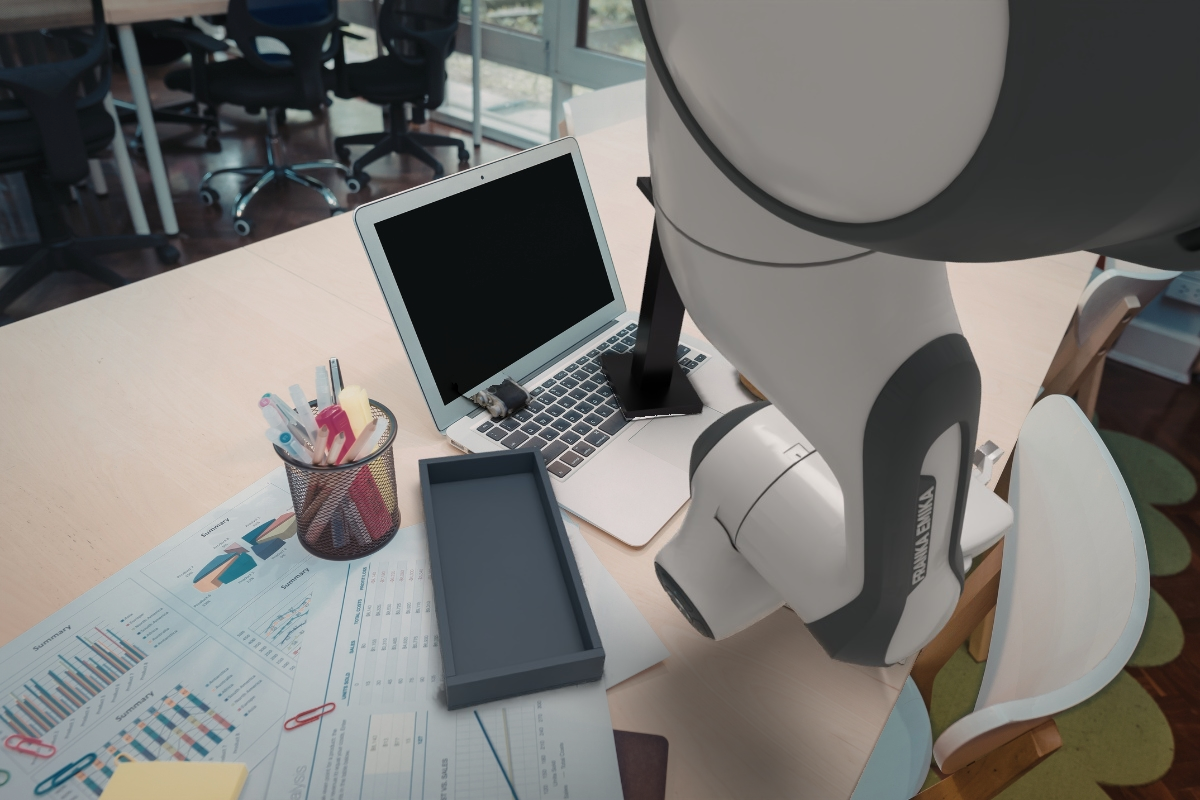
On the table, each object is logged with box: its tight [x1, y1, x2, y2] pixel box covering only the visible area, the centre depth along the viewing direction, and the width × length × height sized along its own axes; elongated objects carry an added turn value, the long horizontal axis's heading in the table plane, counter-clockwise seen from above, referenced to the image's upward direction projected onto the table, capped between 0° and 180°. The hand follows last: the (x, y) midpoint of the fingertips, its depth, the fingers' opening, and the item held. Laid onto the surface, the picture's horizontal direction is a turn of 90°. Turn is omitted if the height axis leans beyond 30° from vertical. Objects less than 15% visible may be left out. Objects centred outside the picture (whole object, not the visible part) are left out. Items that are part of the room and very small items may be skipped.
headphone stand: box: [598, 173, 705, 418], centre depth 85 cm, size 12×10×27 cm
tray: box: [417, 445, 607, 711], centre depth 67 cm, size 26×13×4 cm, turn 16°
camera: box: [470, 376, 532, 418], centre depth 88 cm, size 5×10×4 cm, turn 47°
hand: (948, 412), depth 63 cm, fingers open, 8 cm apart
